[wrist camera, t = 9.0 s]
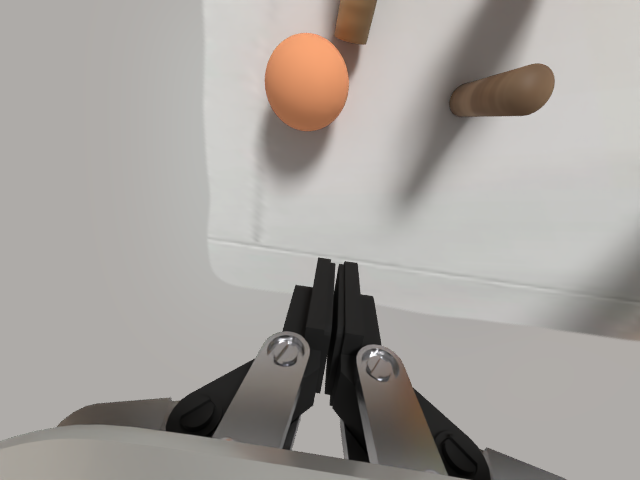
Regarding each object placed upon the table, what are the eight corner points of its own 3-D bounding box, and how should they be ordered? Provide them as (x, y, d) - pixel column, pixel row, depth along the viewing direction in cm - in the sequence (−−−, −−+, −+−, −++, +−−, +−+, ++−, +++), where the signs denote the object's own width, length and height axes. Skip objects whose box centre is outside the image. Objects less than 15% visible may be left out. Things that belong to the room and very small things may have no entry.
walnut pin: (485, 84, 20) (563, 65, 13) (474, 118, 21) (541, 117, 14) (454, 82, 20) (515, 61, 13) (445, 115, 21) (496, 113, 14)
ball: (323, 97, 14) (354, 140, 20) (334, -7, 15) (362, 65, 20) (242, 111, 17) (289, 146, 22) (251, 22, 17) (296, 78, 23)
